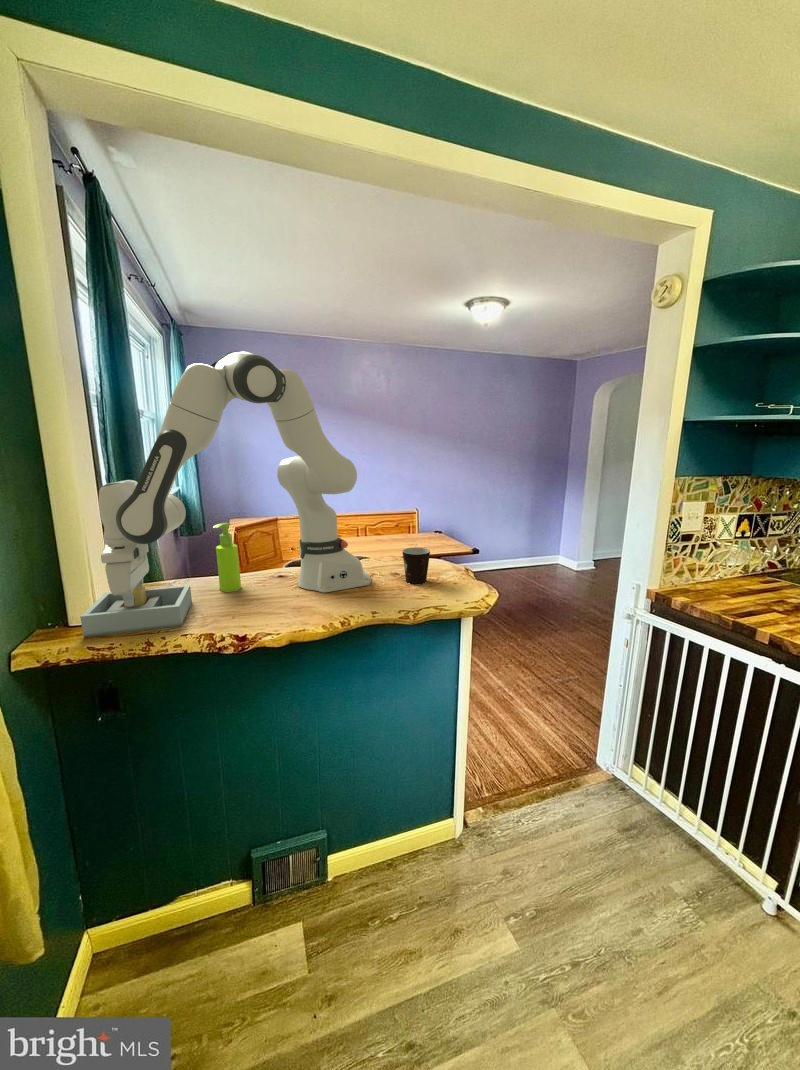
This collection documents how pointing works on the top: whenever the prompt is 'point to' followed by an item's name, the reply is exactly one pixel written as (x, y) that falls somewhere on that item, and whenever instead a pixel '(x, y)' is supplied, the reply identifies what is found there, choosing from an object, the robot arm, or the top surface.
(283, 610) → the top surface
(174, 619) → the caddy
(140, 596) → the connector
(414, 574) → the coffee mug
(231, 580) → the soap dispenser
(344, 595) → the top surface
